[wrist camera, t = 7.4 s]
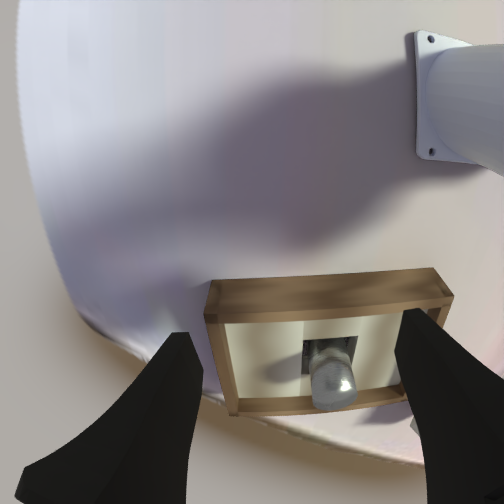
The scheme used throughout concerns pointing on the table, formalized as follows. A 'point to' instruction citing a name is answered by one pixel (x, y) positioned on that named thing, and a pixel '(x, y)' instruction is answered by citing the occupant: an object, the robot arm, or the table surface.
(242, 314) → the peg box
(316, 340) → the peg
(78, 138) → the table surface
